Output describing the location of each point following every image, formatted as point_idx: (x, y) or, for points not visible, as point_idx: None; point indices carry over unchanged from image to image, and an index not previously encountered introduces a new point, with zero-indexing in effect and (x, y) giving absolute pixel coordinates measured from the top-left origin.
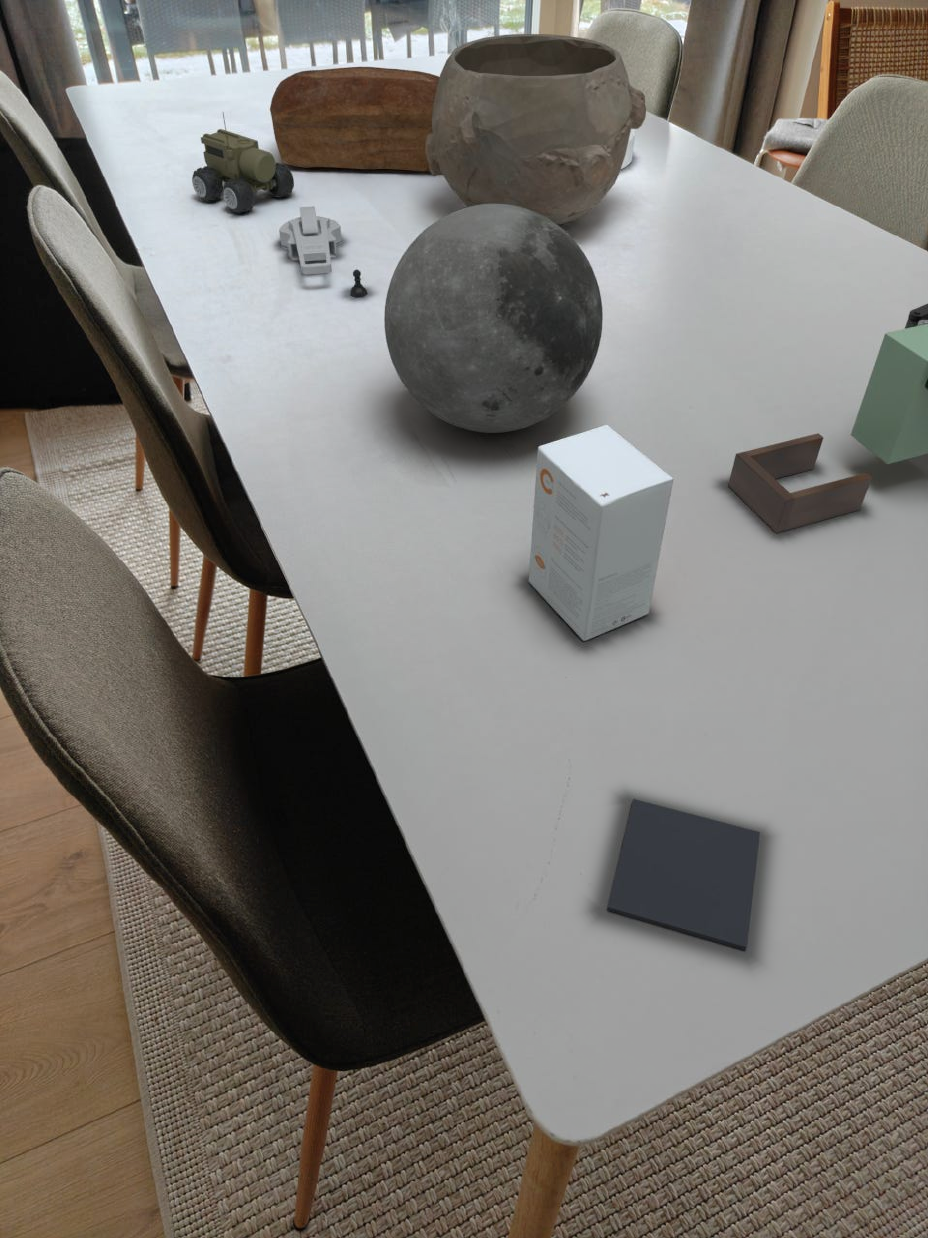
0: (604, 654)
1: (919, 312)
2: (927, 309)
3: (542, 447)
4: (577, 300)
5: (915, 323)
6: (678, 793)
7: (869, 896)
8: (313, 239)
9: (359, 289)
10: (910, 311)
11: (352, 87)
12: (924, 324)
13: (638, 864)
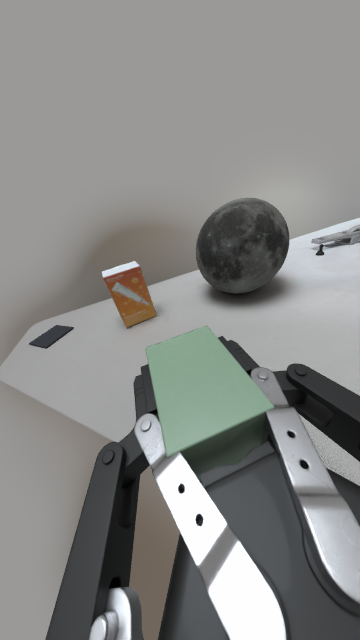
0: (117, 321)
1: (298, 372)
2: (328, 392)
3: (133, 261)
4: (215, 239)
5: (277, 375)
6: (69, 335)
7: (12, 368)
8: (339, 234)
9: (318, 252)
10: (301, 364)
11: None
12: (237, 362)
13: (59, 328)
